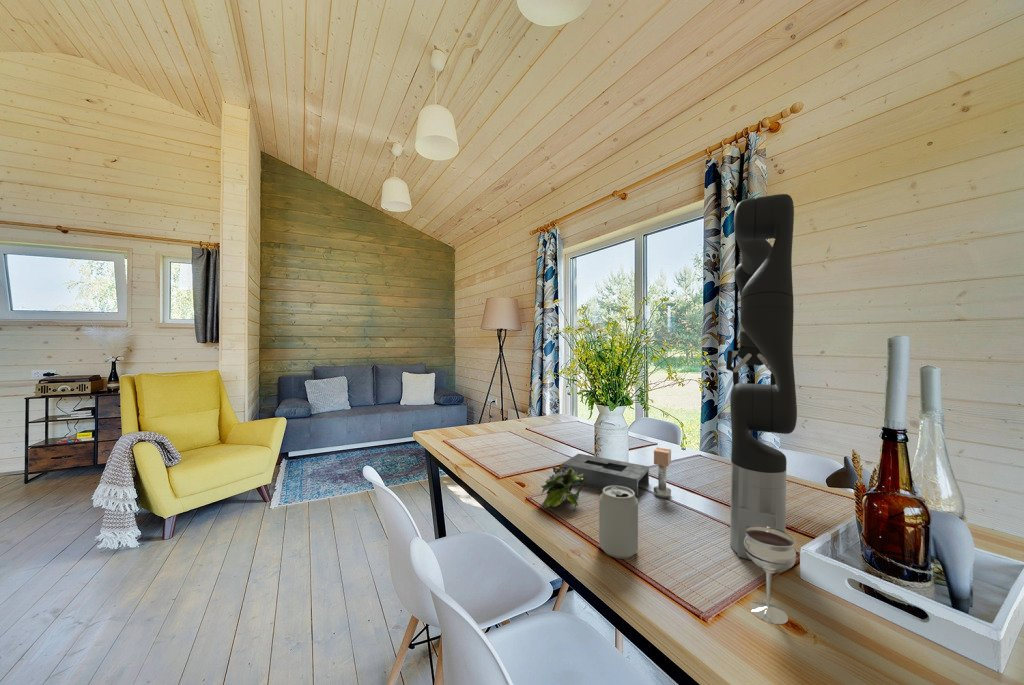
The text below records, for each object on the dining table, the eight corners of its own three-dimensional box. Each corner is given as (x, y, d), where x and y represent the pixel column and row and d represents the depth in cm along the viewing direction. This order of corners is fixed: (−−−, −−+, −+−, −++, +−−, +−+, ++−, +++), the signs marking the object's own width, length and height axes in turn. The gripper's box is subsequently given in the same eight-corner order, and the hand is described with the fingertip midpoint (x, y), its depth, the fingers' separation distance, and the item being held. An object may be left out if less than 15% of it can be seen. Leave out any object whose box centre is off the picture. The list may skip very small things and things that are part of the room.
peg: (669, 499, 101) (669, 453, 101) (651, 495, 103) (652, 450, 103) (672, 493, 104) (672, 449, 104) (655, 490, 107) (656, 446, 107)
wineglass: (776, 634, 55) (777, 551, 55) (733, 604, 61) (733, 529, 61) (805, 620, 58) (806, 541, 58) (761, 592, 64) (762, 521, 64)
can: (617, 565, 72) (617, 501, 72) (591, 545, 79) (591, 487, 78) (646, 554, 75) (646, 493, 75) (619, 536, 82) (619, 481, 82)
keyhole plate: (637, 498, 102) (637, 479, 102) (561, 480, 114) (561, 463, 114) (648, 483, 112) (649, 466, 112) (578, 468, 124) (578, 453, 124)
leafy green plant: (559, 518, 102) (574, 475, 107) (587, 528, 92) (602, 480, 97) (527, 501, 98) (545, 456, 103) (553, 509, 89) (571, 460, 94)
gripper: (725, 330, 113) (725, 385, 113) (785, 330, 105) (784, 389, 105) (728, 331, 119) (727, 383, 119) (784, 330, 111) (784, 386, 111)
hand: (754, 386), depth 112 cm, fingers open, 8 cm apart
